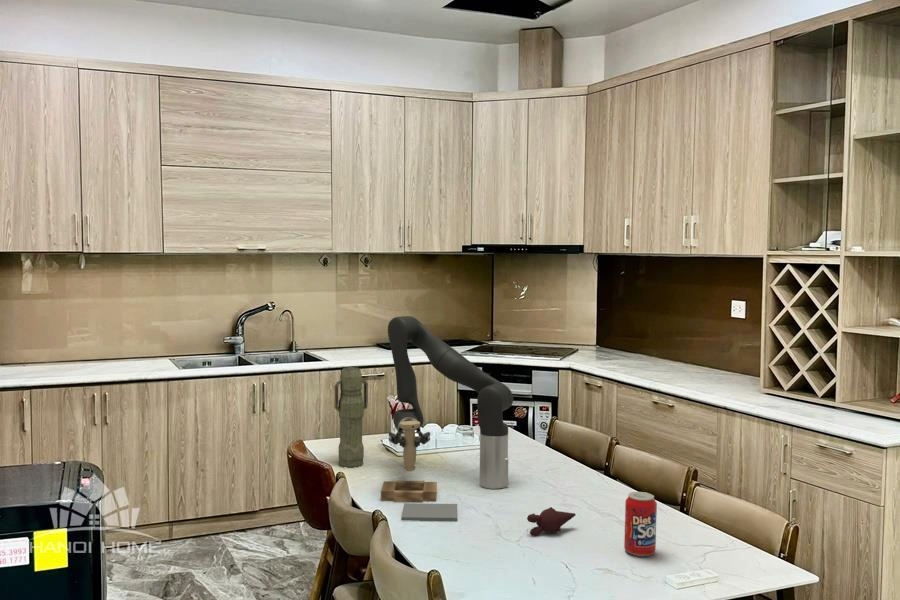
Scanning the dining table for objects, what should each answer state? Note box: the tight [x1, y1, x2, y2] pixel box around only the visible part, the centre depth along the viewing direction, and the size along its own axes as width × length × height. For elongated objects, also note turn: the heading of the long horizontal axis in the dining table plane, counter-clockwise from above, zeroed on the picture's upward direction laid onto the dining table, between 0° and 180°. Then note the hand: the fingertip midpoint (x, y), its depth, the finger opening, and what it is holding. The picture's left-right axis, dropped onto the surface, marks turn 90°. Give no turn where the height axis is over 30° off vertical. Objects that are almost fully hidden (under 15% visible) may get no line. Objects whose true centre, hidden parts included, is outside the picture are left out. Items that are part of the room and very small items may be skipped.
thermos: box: [333, 366, 369, 469], centre depth 275 cm, size 9×12×35 cm
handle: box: [400, 421, 421, 472], centre depth 239 cm, size 5×6×15 cm
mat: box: [400, 502, 458, 522], centre depth 226 cm, size 16×12×1 cm
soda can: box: [623, 491, 658, 557], centre depth 198 cm, size 8×8×15 cm
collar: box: [380, 480, 438, 503], centre depth 242 cm, size 17×12×3 cm
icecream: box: [526, 506, 576, 537], centre depth 212 cm, size 7×7×15 cm
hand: (410, 444), depth 236 cm, fingers closed on handle, 3 cm apart
